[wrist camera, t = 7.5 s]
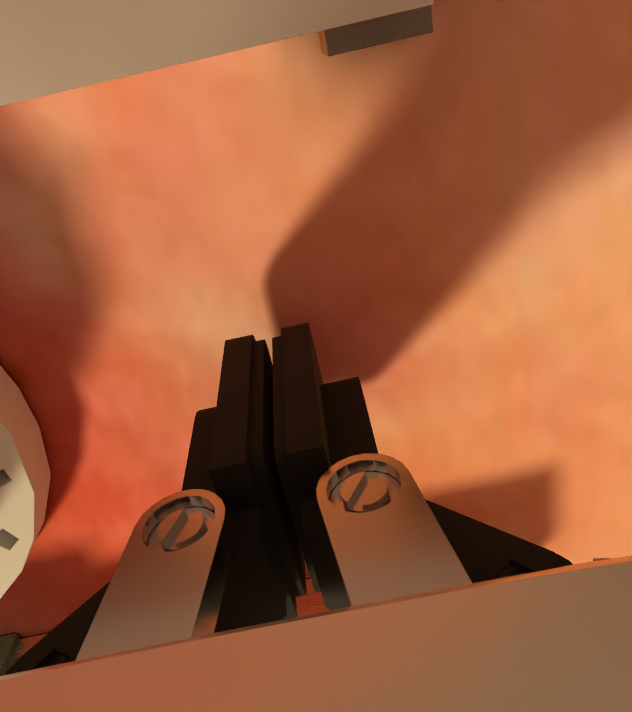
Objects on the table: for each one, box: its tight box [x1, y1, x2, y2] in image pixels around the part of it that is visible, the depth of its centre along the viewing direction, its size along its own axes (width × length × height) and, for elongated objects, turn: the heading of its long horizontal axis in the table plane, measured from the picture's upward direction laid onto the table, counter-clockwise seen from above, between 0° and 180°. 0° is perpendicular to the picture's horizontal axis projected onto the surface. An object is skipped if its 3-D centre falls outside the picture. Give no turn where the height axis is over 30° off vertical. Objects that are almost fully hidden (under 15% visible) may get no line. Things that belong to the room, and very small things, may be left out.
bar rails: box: [0, 0, 434, 676], centre depth 12 cm, size 19×18×3 cm
